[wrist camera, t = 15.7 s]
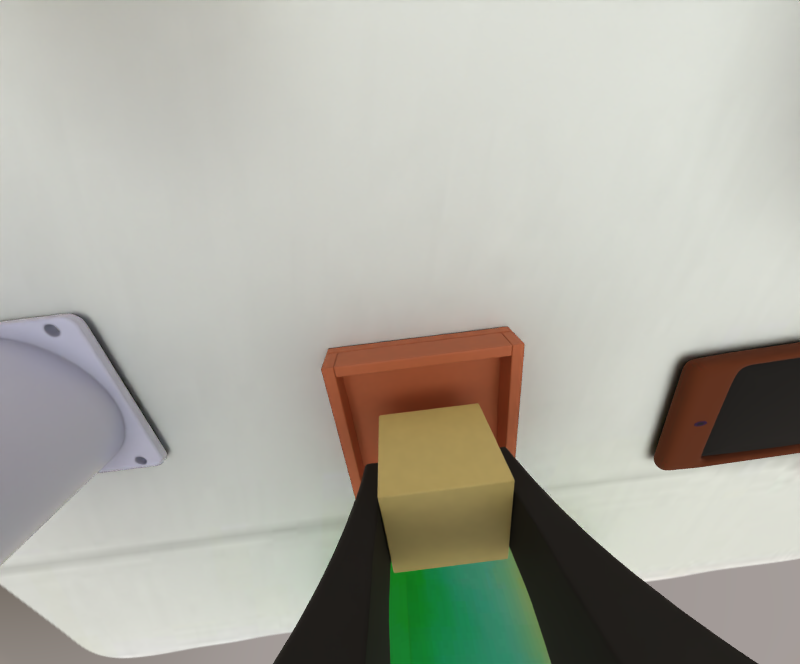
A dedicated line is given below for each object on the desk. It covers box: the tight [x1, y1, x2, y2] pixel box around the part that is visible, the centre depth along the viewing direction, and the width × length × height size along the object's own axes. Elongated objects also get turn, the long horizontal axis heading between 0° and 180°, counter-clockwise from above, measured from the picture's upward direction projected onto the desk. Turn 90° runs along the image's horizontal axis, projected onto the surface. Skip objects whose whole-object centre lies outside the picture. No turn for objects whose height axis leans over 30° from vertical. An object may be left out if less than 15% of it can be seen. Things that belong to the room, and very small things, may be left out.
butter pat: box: [378, 403, 515, 573], centre depth 11 cm, size 4×4×4 cm
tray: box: [321, 327, 524, 499], centre depth 14 cm, size 8×8×2 cm
